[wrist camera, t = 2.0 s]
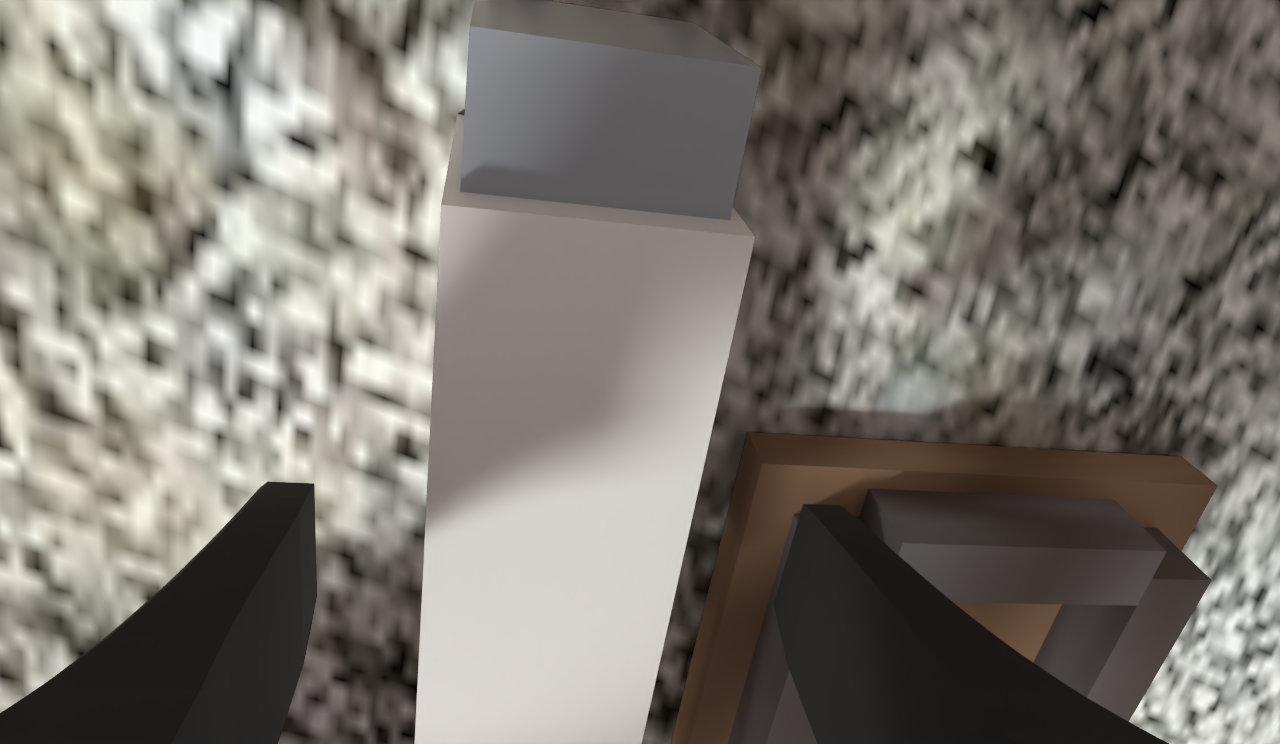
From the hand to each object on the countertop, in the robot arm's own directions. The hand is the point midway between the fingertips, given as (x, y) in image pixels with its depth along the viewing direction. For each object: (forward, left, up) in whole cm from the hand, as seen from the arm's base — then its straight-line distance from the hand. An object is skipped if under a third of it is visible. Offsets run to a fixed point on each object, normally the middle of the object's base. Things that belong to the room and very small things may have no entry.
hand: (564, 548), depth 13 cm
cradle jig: (+10, -10, -5) cm, 15 cm away
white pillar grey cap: (0, 0, -5) cm, 5 cm away
